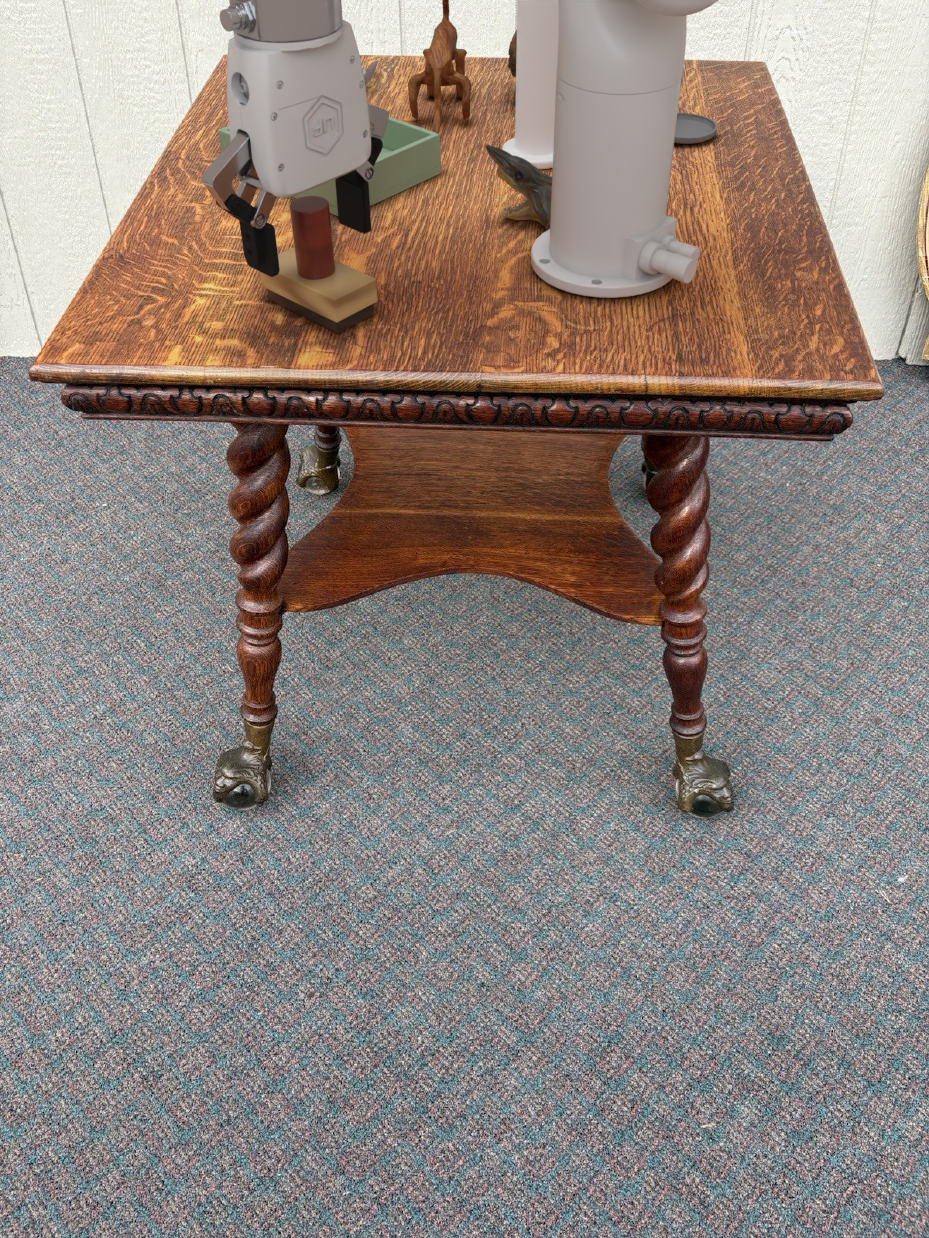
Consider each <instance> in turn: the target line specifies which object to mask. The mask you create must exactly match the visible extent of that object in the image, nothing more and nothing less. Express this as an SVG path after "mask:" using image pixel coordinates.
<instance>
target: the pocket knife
mask: <svg viewBox="0 0 929 1238" xmlns="http://www.w3.org/2000/svg"><path fill="white" fill-rule="evenodd" d="M377 65H378V60H376V61H374V62H373V63H371V64H370V65H368V67H364V68H363V75H364V81H365V87H366V90H367V89H368V84H369V83H370V81H371V80H372V79H373V77H374V76H375V73H376V71H377Z"/></svg>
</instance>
